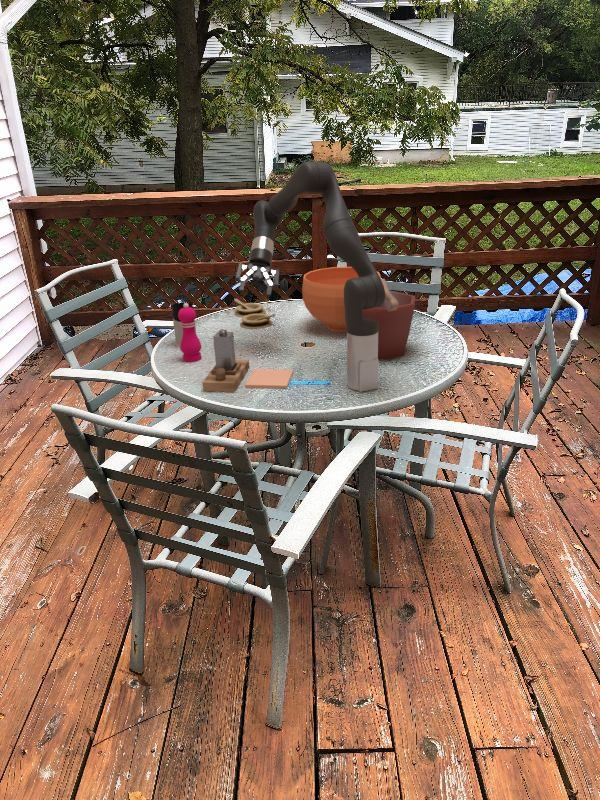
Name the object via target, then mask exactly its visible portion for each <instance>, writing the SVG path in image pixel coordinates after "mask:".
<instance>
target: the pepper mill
mask: <svg viewBox="0 0 600 800" xmlns="http://www.w3.org/2000/svg"><path fill="white" fill-rule="evenodd" d="M183 307H184V308H182V309H180V311H179V313H178V317H179V319H180V320H181V327H182V328H183V337H182V340H181V344H180V348H179V349H180V351H181V353H183V354H182V359H183V361H184V362H187V363H195V362H197V361H200V360H201V359H202V353H201V352H200V351H201V350H202V342H201V341H200V339H199V337H198V335H197V331H196V332H195V326H196V324H197V323H196V318H197V313H196V310H195V309H194V307H193V308H190V307H189V305H188V304H187V303H184V305H183ZM194 320H195V321H194ZM194 361H195V362H194Z"/></svg>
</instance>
